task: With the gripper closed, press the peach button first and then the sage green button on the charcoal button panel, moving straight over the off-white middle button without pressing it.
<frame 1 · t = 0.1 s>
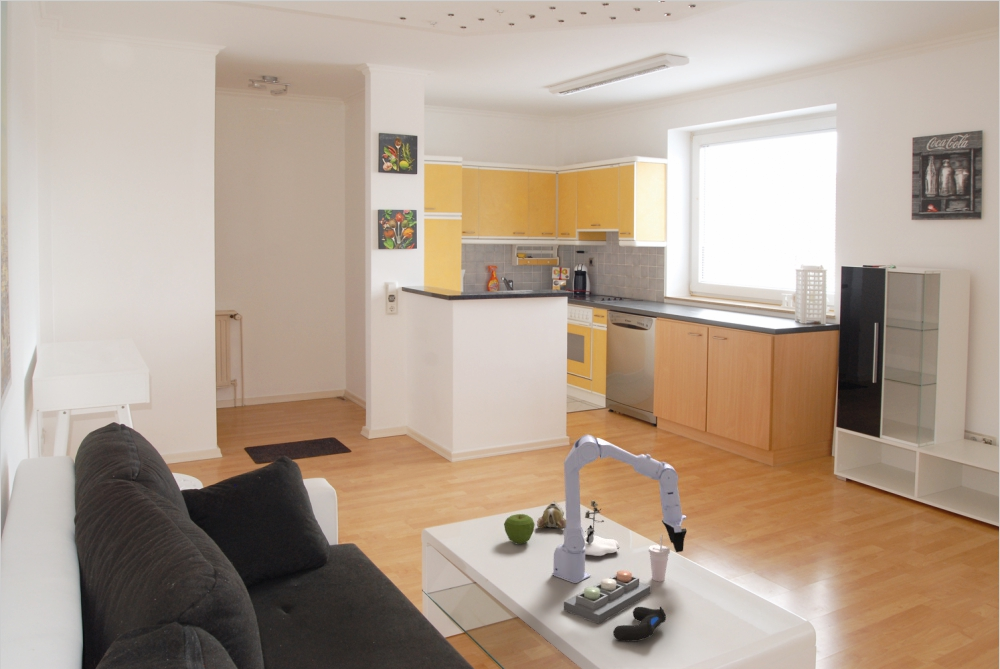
hand: (676, 546, 238), 11 cm above the table, fingers open, 7 cm apart
gaming controller: (641, 633, 206), on the table
peach button: (624, 576, 229), point 5 cm above the table, slide at 0.0 cm
sage button: (592, 593, 217), point 5 cm above the table, slide at 0.0 cm
smoothie: (658, 579, 240), on the table
offwhite button: (608, 585, 223), point 5 cm above the table, slide at 0.0 cm
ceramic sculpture: (552, 526, 286), on the table
figurine: (593, 550, 264), on the table
button panel: (608, 601, 224), on the table
apple: (519, 542, 269), on the table
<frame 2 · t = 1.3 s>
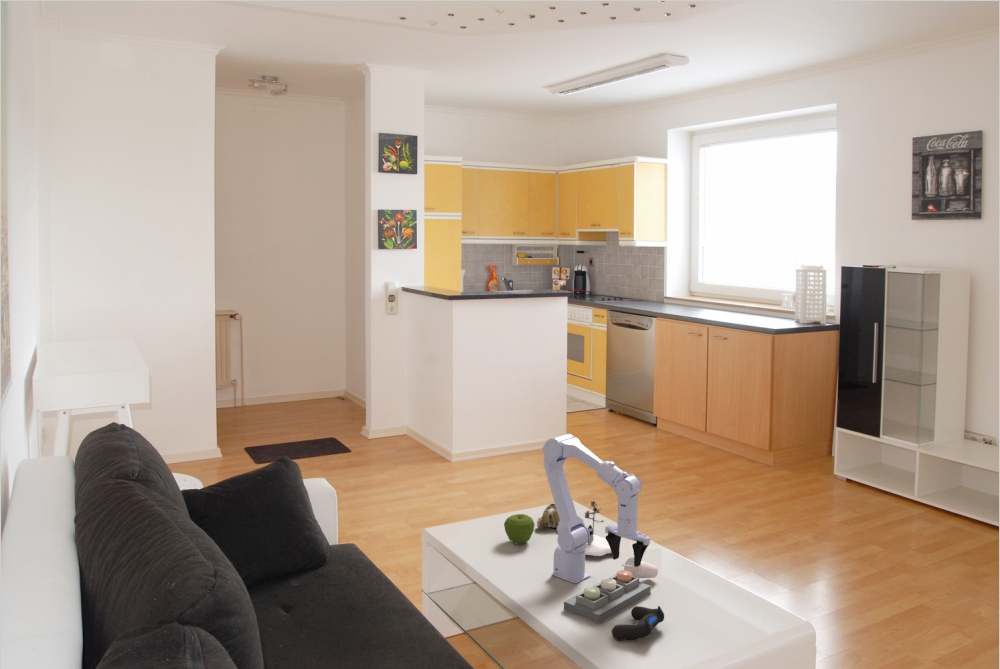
hand: (626, 562, 229), 9 cm above the table, fingers open, 7 cm apart
smoothie: (653, 571, 240), point 2 cm above the table, touching button panel
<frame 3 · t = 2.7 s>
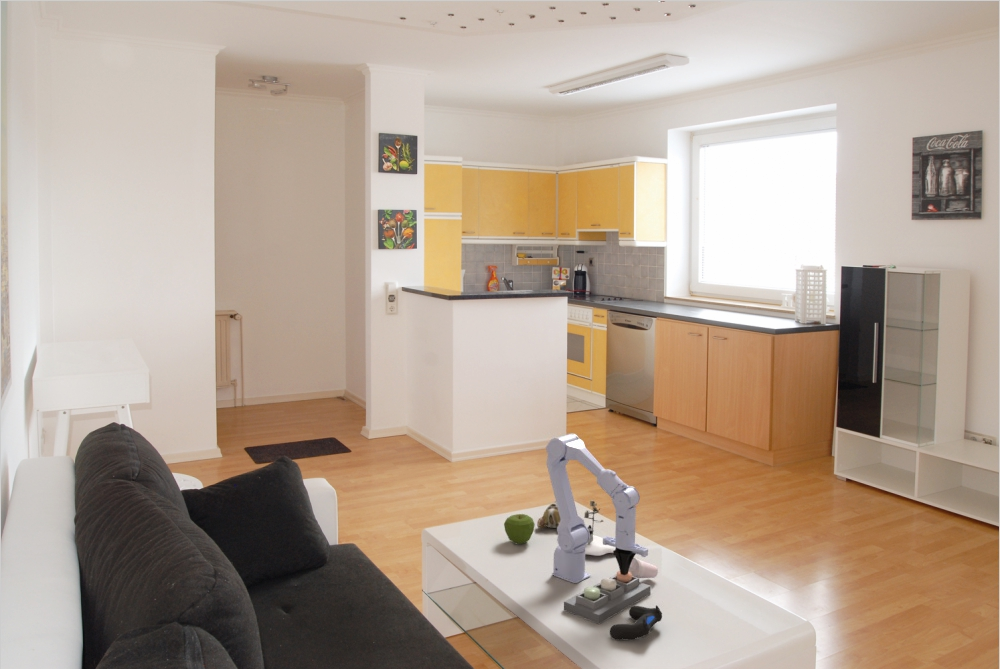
hand: (624, 573, 229), 6 cm above the table, fingers closed, pressing on peach button
peach button: (624, 576, 229), point 5 cm above the table, slide at 0.0 cm, touching gripper
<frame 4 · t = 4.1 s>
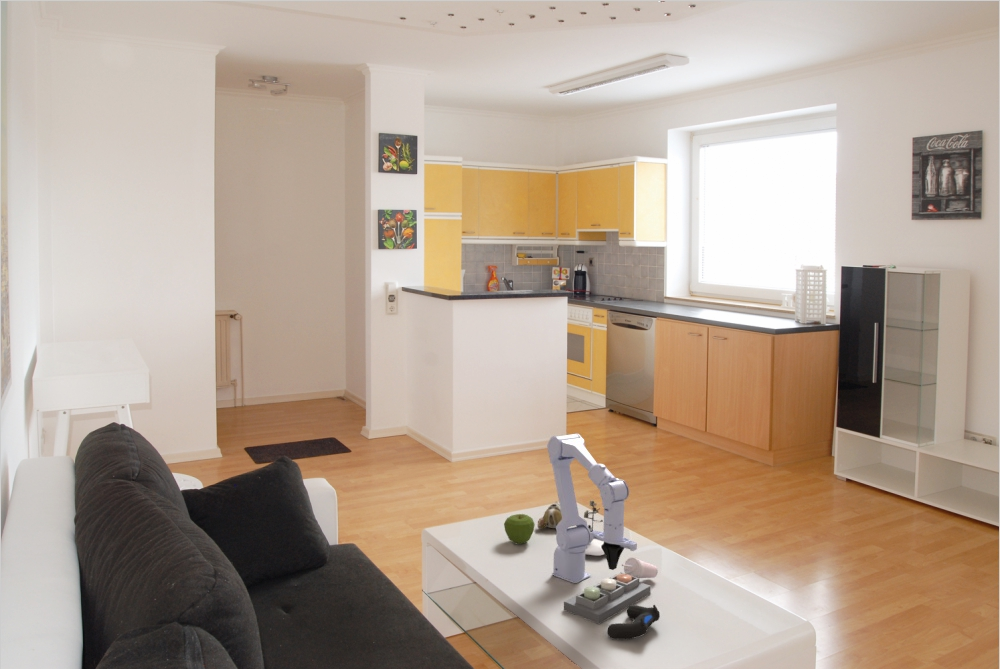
hand: (612, 568, 224), 9 cm above the table, fingers closed
peach button: (624, 580, 229), point 4 cm above the table, slide at 1.0 cm
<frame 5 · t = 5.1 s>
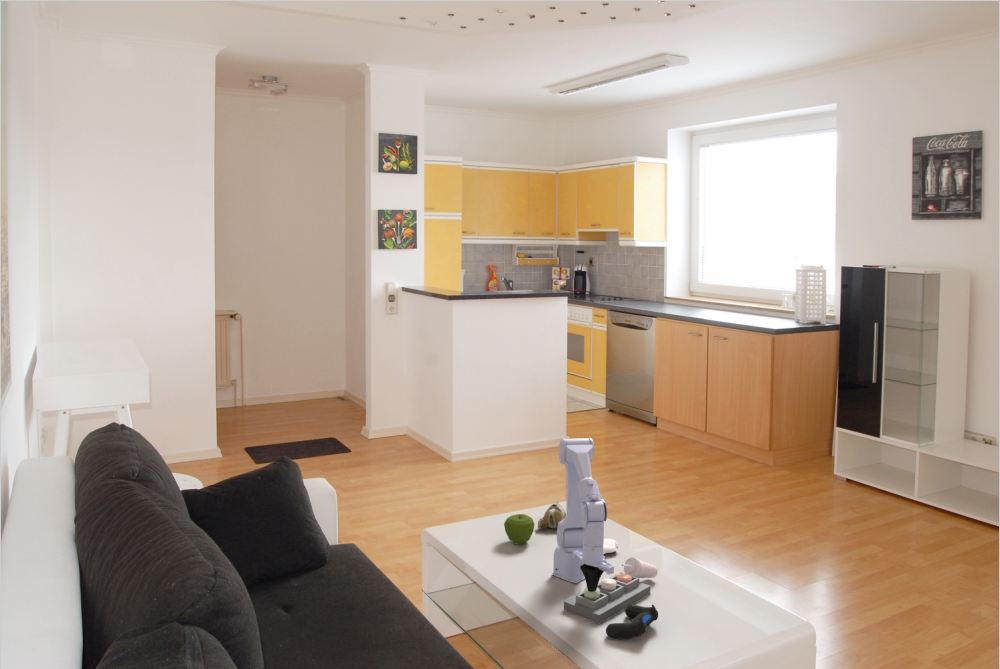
hand: (592, 590, 217), 6 cm above the table, fingers closed, pressing on sage button
sage button: (592, 593, 217), point 5 cm above the table, slide at 0.0 cm, touching gripper
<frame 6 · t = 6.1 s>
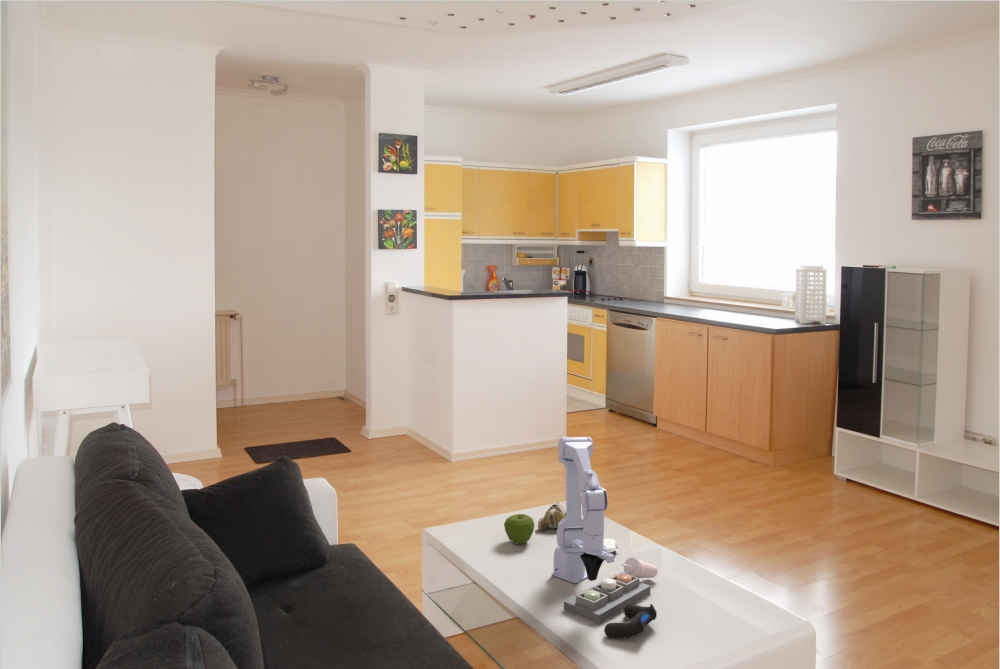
hand: (592, 579, 217), 9 cm above the table, fingers closed
sage button: (591, 597, 217), point 4 cm above the table, slide at 1.0 cm
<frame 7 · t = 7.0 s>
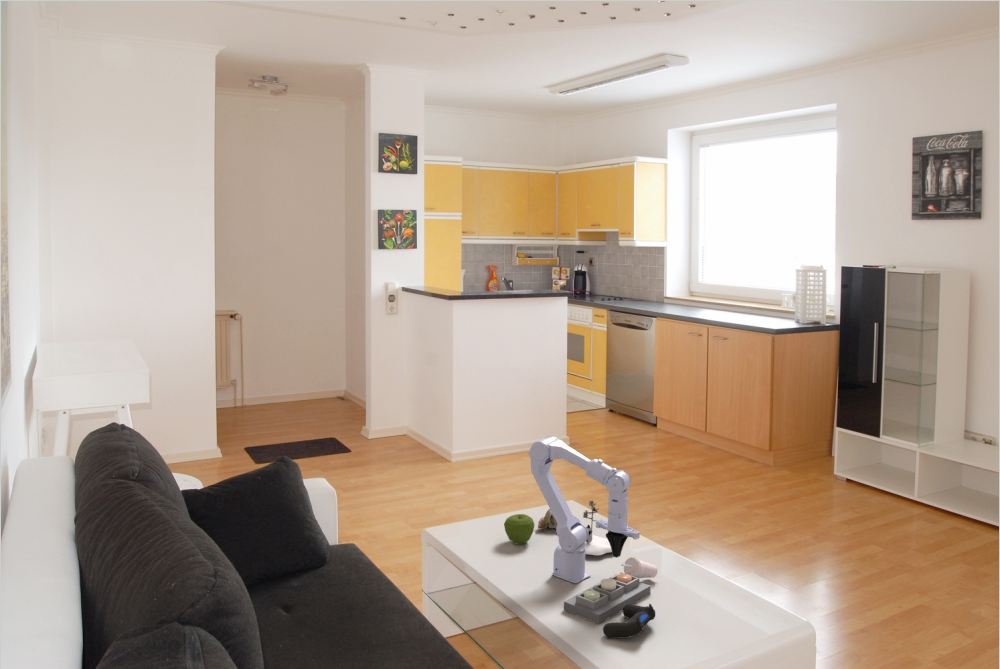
hand: (616, 556, 233), 9 cm above the table, fingers closed
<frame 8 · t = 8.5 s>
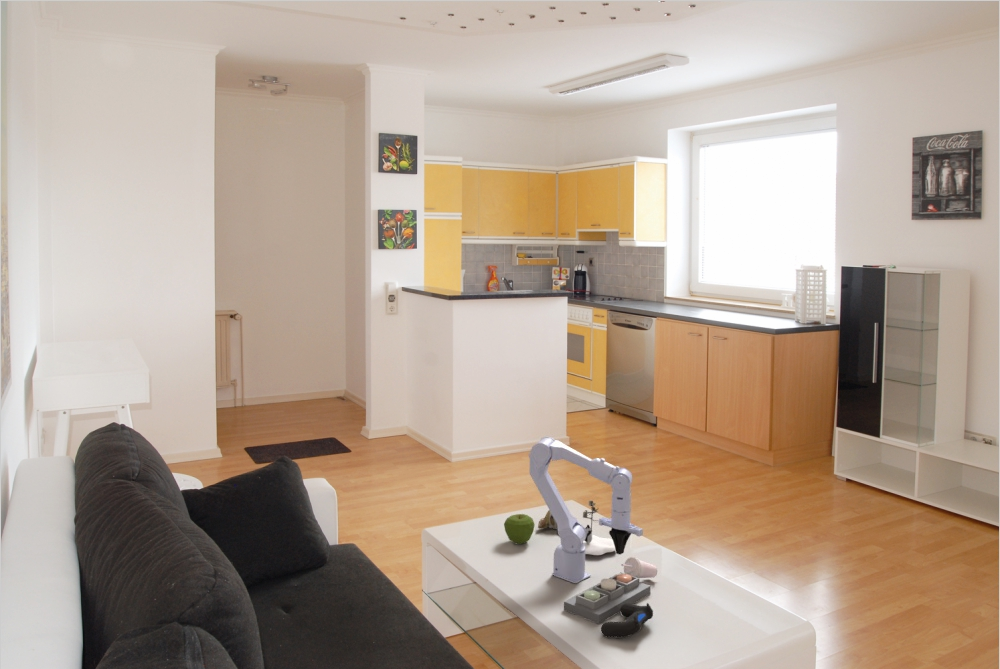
hand: (619, 553, 236), 9 cm above the table, fingers closed
at the end: peach button slide at 1.0 cm; sage button slide at 1.0 cm; offwhite button slide at 0.0 cm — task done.
